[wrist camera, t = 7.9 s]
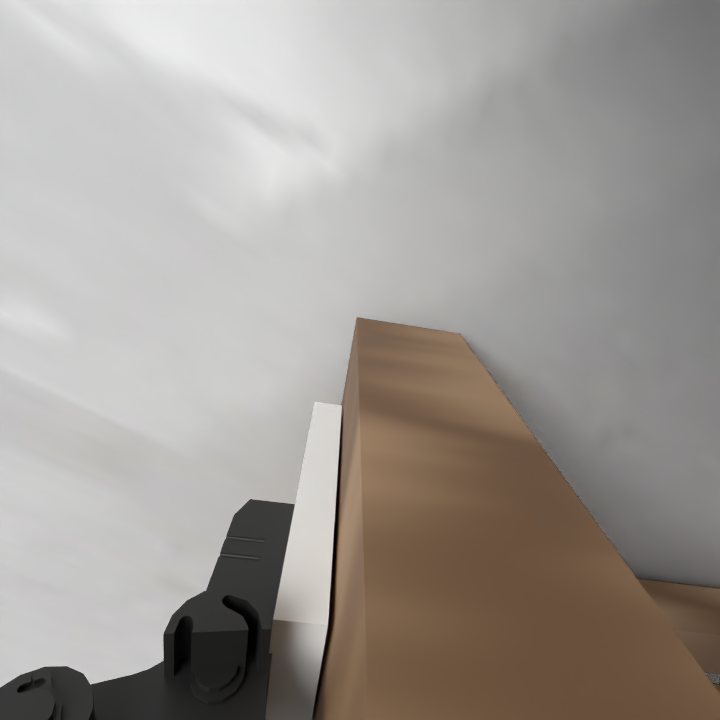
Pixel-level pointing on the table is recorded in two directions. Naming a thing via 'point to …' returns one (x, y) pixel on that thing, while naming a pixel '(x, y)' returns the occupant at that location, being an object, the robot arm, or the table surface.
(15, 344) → the table surface
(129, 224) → the table surface
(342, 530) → the bent wooden rail
